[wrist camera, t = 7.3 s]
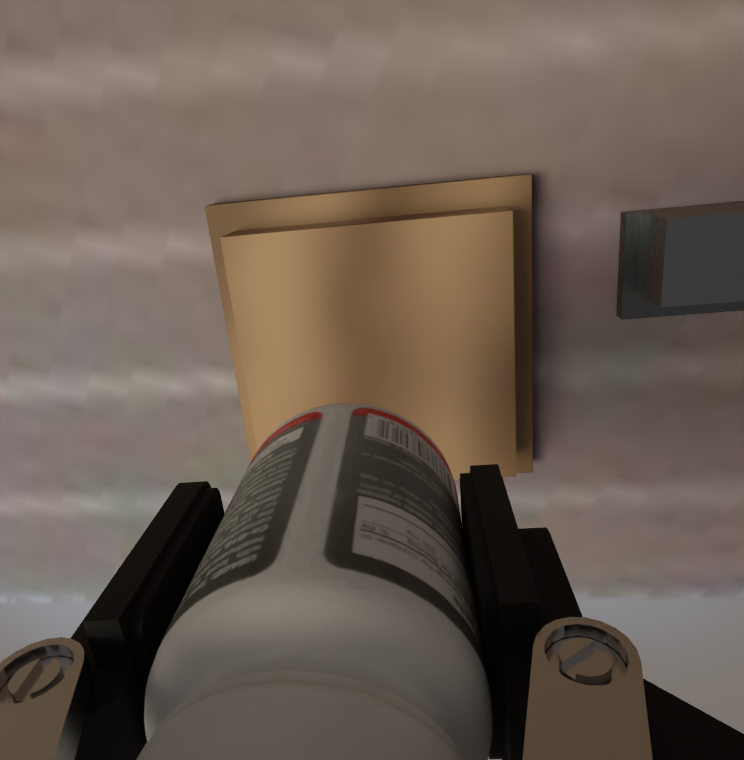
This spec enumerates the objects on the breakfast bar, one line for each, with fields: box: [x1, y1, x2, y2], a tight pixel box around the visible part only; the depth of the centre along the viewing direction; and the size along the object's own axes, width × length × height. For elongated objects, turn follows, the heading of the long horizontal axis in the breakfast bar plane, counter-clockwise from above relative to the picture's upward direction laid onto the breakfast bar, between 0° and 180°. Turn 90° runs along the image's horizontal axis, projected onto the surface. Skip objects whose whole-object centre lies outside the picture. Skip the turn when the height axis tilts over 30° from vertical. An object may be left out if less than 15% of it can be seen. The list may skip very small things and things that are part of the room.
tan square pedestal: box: [205, 174, 533, 479], centre depth 24 cm, size 12×12×3 cm
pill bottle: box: [137, 403, 493, 760], centre depth 10 cm, size 5×5×8 cm
